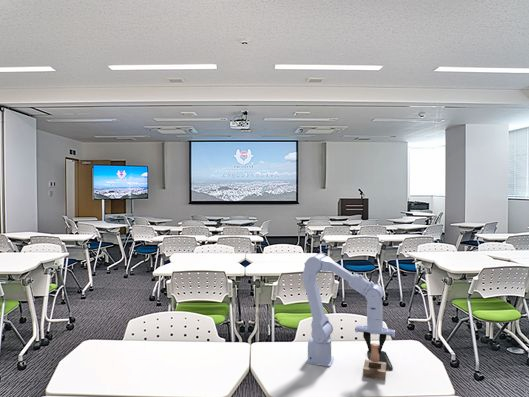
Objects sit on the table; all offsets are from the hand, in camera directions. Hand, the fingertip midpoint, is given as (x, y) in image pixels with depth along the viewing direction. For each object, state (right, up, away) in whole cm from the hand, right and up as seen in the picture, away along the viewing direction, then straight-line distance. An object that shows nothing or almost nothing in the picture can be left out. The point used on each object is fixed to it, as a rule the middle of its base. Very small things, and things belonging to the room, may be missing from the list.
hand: (374, 352), depth 142 cm
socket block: (0, -8, 0) cm, 8 cm away
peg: (0, -3, 0) cm, 3 cm away
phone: (+5, -8, +10) cm, 14 cm away
